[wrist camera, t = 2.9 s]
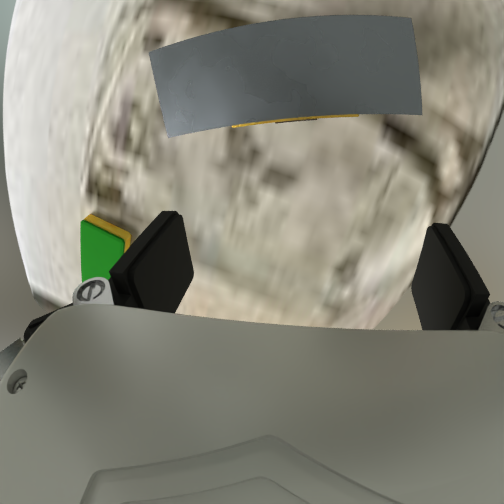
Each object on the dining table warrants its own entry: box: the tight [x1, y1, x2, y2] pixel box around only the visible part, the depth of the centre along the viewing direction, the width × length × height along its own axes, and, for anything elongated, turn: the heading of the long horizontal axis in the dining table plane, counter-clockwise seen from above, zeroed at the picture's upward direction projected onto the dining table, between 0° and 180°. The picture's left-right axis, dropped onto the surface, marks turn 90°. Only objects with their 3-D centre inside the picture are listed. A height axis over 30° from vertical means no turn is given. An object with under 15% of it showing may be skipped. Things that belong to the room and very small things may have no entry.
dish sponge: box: [81, 214, 131, 283], centre depth 39 cm, size 7×14×2 cm, turn 159°
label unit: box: [149, 15, 422, 138], centre depth 17 cm, size 6×14×13 cm, turn 100°
